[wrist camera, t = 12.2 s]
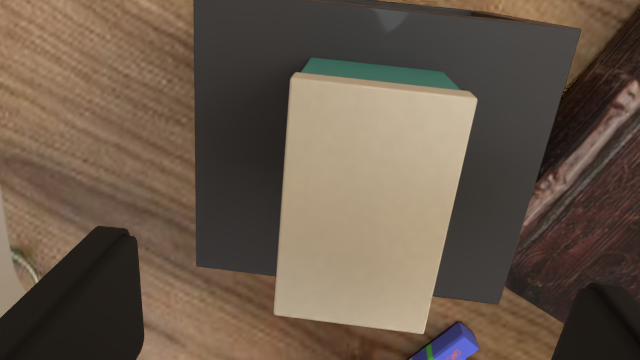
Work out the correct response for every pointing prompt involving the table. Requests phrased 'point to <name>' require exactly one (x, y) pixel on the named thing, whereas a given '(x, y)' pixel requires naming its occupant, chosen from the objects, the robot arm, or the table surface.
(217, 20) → the shelf rack
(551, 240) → the hardback book
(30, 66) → the table surface
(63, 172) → the table surface
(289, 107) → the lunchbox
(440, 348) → the eraser
